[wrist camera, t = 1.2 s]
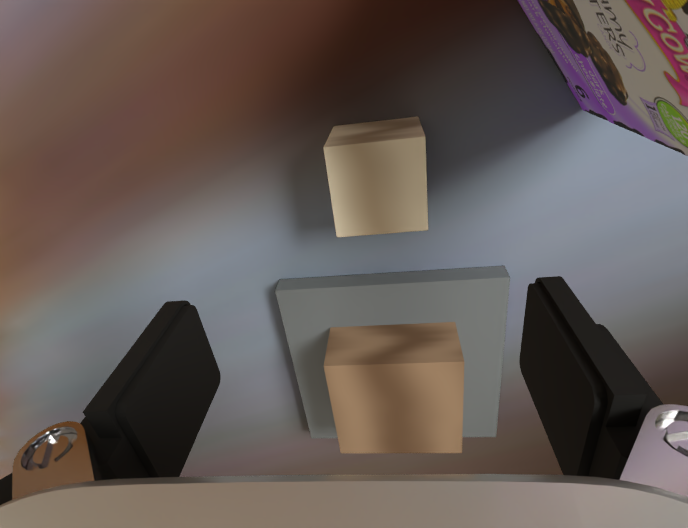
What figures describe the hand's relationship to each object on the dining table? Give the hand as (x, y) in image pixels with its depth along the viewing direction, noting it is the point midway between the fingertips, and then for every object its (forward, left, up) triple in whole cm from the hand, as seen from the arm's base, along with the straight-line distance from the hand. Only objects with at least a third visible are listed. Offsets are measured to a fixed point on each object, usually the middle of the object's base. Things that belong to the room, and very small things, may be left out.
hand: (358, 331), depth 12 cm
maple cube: (0, 0, -16) cm, 16 cm away
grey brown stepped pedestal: (0, +16, -16) cm, 23 cm away
